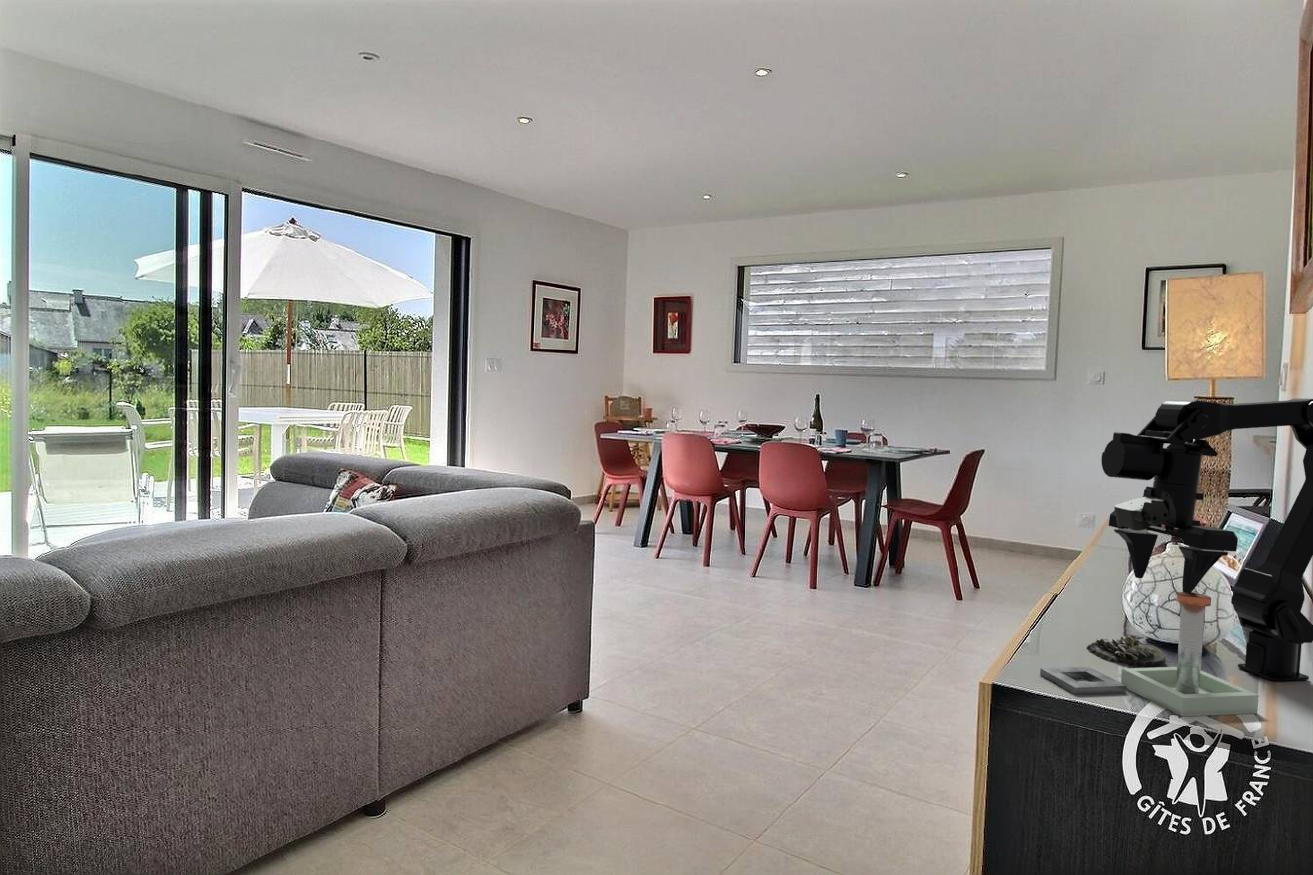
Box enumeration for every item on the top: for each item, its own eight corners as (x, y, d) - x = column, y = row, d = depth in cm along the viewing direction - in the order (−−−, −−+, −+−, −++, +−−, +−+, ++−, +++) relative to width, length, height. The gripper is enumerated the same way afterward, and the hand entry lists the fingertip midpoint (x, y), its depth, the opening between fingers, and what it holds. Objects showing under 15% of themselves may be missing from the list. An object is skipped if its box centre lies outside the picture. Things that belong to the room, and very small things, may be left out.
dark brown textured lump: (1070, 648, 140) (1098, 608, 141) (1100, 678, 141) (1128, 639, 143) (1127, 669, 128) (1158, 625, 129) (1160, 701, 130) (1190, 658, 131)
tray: (1190, 682, 123) (1191, 666, 123) (1257, 713, 112) (1258, 694, 112) (1120, 685, 121) (1121, 668, 121) (1181, 716, 110) (1183, 697, 110)
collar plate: (1088, 673, 126) (1088, 666, 126) (1126, 692, 118) (1126, 685, 118) (1040, 674, 125) (1040, 668, 125) (1074, 694, 117) (1075, 687, 117)
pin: (1180, 687, 119) (1187, 591, 118) (1210, 697, 116) (1217, 597, 115) (1163, 691, 117) (1170, 593, 117) (1193, 701, 114) (1200, 600, 113)
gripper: (1085, 472, 133) (1073, 568, 134) (1180, 488, 115) (1164, 599, 116) (1145, 477, 135) (1133, 571, 136) (1247, 493, 117) (1232, 603, 118)
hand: (1161, 585), depth 126 cm, fingers open, 9 cm apart
